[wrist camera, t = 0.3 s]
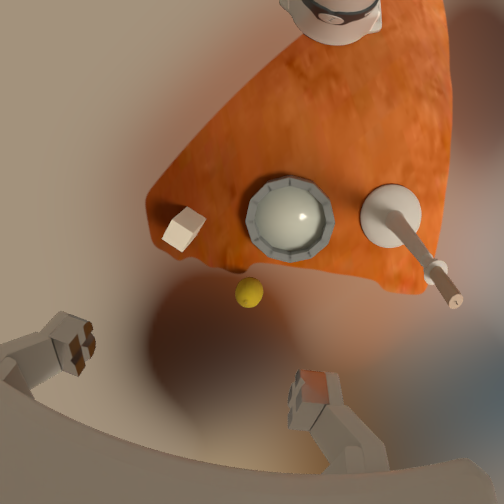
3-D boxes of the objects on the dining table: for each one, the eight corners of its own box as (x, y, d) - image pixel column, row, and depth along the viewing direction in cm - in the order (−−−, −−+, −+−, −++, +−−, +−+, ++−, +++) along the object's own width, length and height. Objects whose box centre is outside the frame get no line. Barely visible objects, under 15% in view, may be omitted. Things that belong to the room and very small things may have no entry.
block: (187, 206, 59) (171, 219, 52) (206, 218, 60) (193, 233, 52) (177, 224, 61) (161, 238, 54) (195, 236, 62) (182, 252, 54)
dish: (259, 166, 54) (257, 169, 51) (342, 189, 53) (344, 193, 51) (241, 244, 61) (239, 249, 58) (318, 264, 60) (318, 270, 58)
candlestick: (429, 199, 50) (517, 271, 24) (403, 254, 56) (461, 355, 29) (375, 173, 51) (445, 232, 24) (350, 234, 56) (385, 335, 29)
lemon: (250, 297, 66) (244, 319, 59) (234, 279, 64) (225, 299, 57) (270, 284, 64) (266, 306, 56) (253, 265, 62) (247, 285, 55)
